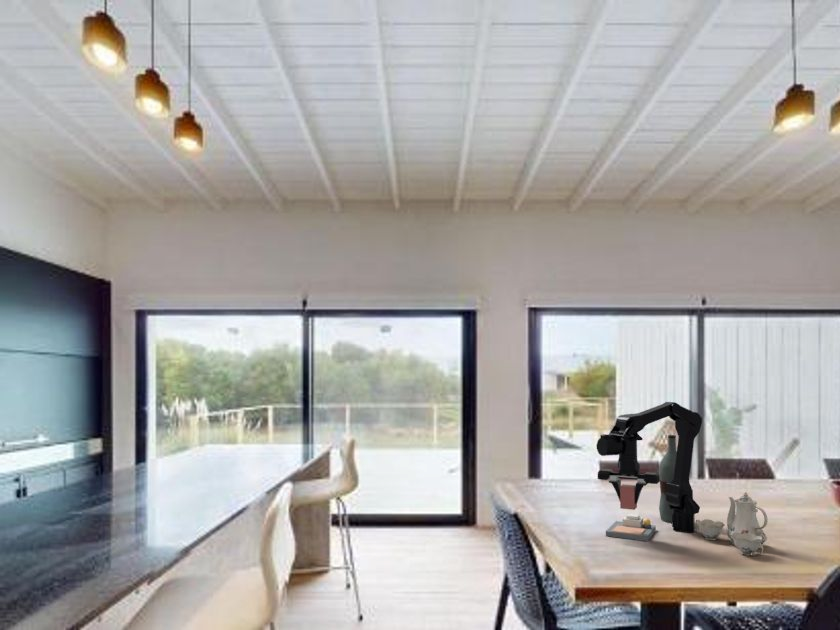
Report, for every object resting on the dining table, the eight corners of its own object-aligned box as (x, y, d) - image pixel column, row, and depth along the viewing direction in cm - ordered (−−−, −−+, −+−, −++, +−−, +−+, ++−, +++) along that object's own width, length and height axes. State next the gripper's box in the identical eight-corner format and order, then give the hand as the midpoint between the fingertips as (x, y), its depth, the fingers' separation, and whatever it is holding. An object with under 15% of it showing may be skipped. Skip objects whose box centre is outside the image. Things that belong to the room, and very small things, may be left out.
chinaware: (686, 541, 223) (681, 490, 223) (728, 532, 228) (723, 482, 228) (752, 566, 196) (745, 507, 197) (798, 555, 201) (791, 498, 202)
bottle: (660, 522, 242) (659, 436, 244) (658, 516, 250) (656, 433, 252) (689, 524, 239) (687, 437, 241) (685, 518, 248) (684, 434, 250)
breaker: (639, 523, 231) (639, 514, 231) (637, 526, 227) (637, 516, 228) (628, 522, 232) (628, 513, 232) (626, 524, 229) (626, 515, 229)
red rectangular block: (636, 507, 224) (636, 485, 225) (634, 509, 221) (634, 487, 221) (623, 505, 226) (622, 484, 227) (620, 508, 223) (620, 486, 223)
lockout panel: (655, 530, 231) (655, 516, 231) (647, 541, 216) (647, 526, 217) (616, 525, 237) (615, 512, 237) (605, 535, 222) (605, 522, 223)
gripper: (661, 453, 228) (662, 501, 227) (604, 449, 236) (605, 496, 235) (656, 457, 218) (657, 507, 217) (596, 453, 226) (597, 501, 225)
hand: (628, 503), depth 224 cm, fingers closed on red rectangular block, 4 cm apart
